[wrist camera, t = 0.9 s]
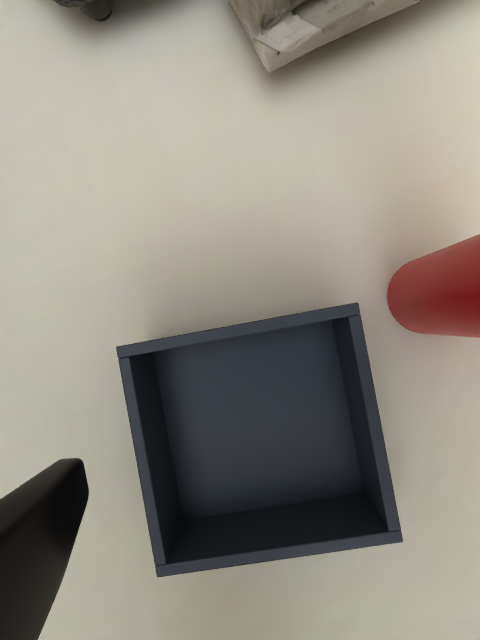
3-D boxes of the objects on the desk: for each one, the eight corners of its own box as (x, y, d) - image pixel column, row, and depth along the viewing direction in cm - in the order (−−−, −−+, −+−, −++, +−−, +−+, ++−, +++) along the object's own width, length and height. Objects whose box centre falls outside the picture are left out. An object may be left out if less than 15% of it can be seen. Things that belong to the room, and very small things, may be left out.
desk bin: (371, 493, 21) (403, 542, 16) (178, 523, 21) (156, 578, 17) (336, 306, 21) (358, 302, 16) (146, 341, 22) (115, 347, 17)
